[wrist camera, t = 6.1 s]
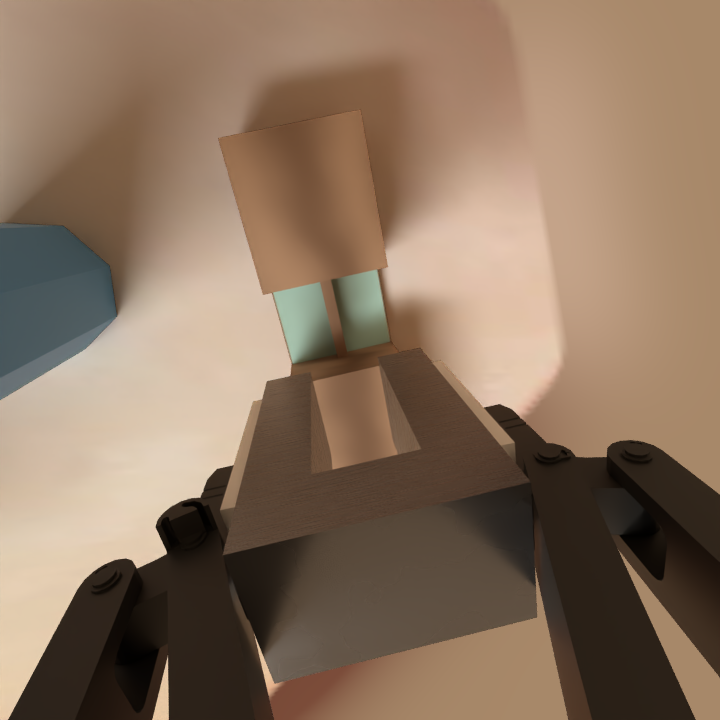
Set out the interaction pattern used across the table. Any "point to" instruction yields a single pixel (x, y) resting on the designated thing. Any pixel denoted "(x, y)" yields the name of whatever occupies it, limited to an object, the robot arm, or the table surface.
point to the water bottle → (48, 300)
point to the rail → (321, 266)
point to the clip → (378, 528)
